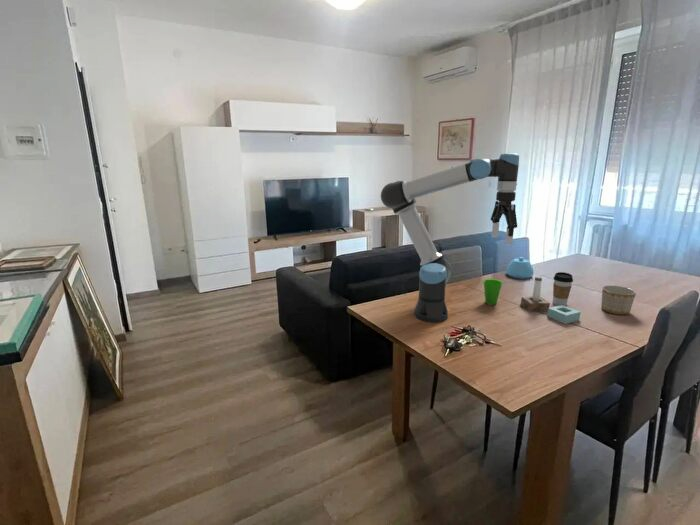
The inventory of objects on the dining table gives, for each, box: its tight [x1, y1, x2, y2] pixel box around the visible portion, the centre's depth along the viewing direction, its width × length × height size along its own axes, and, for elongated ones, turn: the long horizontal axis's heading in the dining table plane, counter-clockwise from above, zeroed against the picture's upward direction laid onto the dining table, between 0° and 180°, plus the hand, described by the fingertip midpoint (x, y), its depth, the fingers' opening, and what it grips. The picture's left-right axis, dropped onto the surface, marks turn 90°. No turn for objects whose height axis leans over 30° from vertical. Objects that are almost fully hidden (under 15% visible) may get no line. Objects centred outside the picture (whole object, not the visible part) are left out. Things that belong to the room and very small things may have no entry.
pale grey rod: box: [532, 276, 543, 302], centre depth 177 cm, size 3×3×15 cm
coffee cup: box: [552, 271, 574, 306], centre depth 182 cm, size 8×8×15 cm
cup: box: [482, 278, 504, 306], centre depth 185 cm, size 9×9×11 cm
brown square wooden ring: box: [520, 295, 551, 312], centre depth 179 cm, size 9×9×4 cm
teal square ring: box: [546, 305, 581, 325], centre depth 167 cm, size 9×9×4 cm
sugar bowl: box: [506, 256, 534, 280], centre depth 227 cm, size 15×15×12 cm
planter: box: [600, 284, 637, 316], centre depth 173 cm, size 13×13×10 cm
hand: (501, 240), depth 164 cm, fingers open, 13 cm apart
